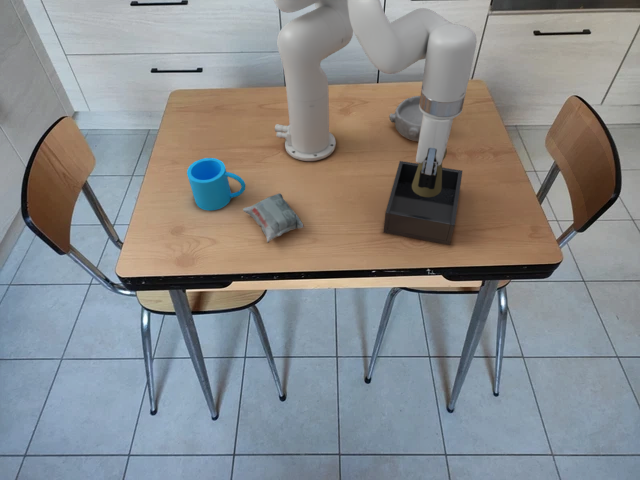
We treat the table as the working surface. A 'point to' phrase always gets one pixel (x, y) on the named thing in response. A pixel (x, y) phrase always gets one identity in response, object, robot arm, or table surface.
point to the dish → (408, 118)
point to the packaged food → (274, 216)
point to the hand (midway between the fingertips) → (427, 178)
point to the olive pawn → (438, 184)
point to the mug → (212, 183)
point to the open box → (422, 207)
